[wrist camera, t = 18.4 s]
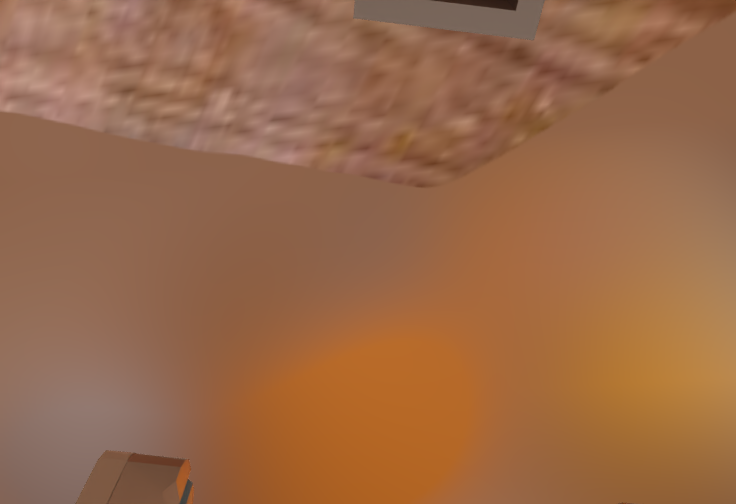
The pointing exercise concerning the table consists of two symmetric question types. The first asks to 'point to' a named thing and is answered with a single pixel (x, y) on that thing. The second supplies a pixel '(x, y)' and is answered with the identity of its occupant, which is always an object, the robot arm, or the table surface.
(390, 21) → the rectangular frame
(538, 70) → the table surface
